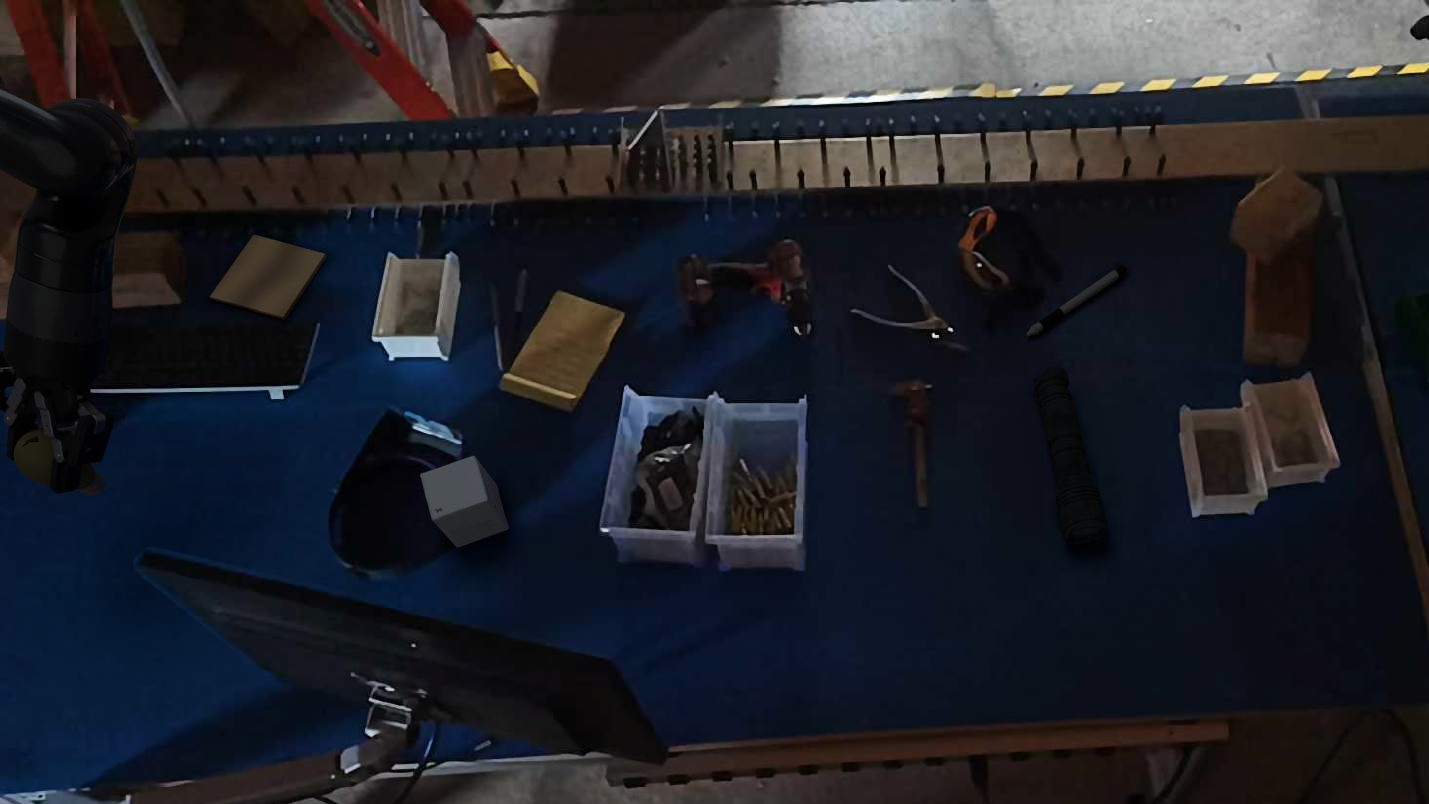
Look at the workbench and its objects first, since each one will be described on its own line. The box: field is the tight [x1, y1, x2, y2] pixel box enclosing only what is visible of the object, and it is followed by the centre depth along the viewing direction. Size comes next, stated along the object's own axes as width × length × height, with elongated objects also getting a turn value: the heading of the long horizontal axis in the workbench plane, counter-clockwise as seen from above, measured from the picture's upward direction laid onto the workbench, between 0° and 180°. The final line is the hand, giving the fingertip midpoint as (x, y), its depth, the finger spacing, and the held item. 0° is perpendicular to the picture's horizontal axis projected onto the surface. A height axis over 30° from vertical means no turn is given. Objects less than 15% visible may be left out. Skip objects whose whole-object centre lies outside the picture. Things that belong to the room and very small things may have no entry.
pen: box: [1024, 264, 1128, 338], centre depth 138 cm, size 1×16×1 cm, turn 129°
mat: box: [209, 234, 328, 321], centre depth 139 cm, size 10×10×1 cm
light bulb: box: [13, 427, 107, 497], centre depth 112 cm, size 6×6×10 cm
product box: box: [419, 455, 510, 548], centre depth 122 cm, size 6×6×7 cm
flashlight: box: [1032, 365, 1109, 546], centre depth 127 cm, size 5×21×5 cm, turn 9°
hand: (42, 473), depth 110 cm, fingers closed on light bulb, 5 cm apart
